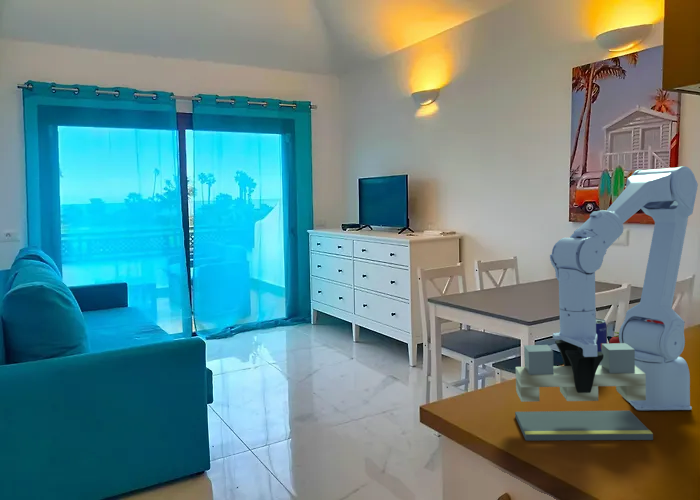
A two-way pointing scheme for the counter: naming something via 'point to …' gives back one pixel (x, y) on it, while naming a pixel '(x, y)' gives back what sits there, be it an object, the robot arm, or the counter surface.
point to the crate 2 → (618, 358)
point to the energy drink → (601, 334)
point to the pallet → (528, 387)
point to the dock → (582, 425)
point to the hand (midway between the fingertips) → (578, 386)
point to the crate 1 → (538, 359)
